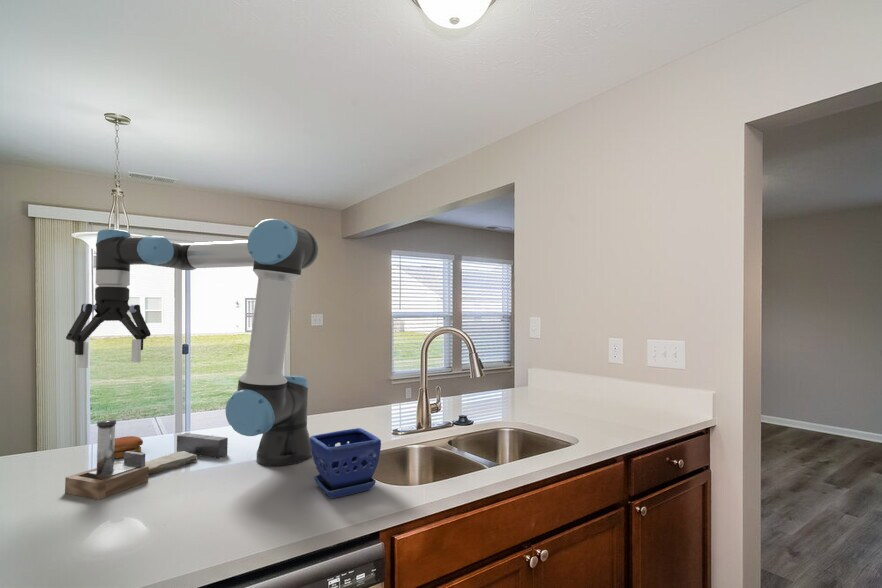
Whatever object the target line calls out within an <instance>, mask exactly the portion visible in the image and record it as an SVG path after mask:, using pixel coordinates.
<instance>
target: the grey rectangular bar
mask: <svg viewBox="0 0 882 588" xmlns="http://www.w3.org/2000/svg"><path fill="white" fill-rule="evenodd" d="M228 444H229V443H228V437H225V436H224V437H223V436H215V435H208V434H207V435H206V434H199V433H190V432H189V433H188V432H185V433H181V434H178V435H176V452H181V451H185V452H188V453H192V454H194V455H197V457H204V458H213V459H222V458H224V457H227V456H228Z"/></svg>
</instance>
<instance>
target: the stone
mask: <svg viewBox="0 0 882 588" xmlns="http://www.w3.org/2000/svg"><path fill="white" fill-rule="evenodd" d="M197 457H198V456H197V455H194V454H192V453H188V452H185V451H181V452H177V451H175V452H172V453H170V454H167V455H164V456H160V457H157V458H153V459H150V460H148V461H145V466H148V467H149V470H148V475H151V474H156V473H160V472H163V471H167V469H168V470H171V469H174V468H179V467H180V466H184V465H186V464H191V463H195V462H197V461H198V458H197Z"/></svg>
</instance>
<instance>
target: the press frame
mask: <svg viewBox="0 0 882 588" xmlns="http://www.w3.org/2000/svg"><path fill="white" fill-rule="evenodd" d="M118 463H121V462H120V461H114V465H115V464H118ZM96 470H97V467H95V468H92V469H88V470H85V471H82V472H79V473H76V474H72V475H69V476H66V477H65V478H64V479H65V481H64V482H65V483H64V486H65V487H64V494H66V495H67V494H68V495H73V496H77V497H78V496H79V497H83V498H88V499H93V500H98V501H99V500H101V499H103V498H107V497H109V496H112V495H115V494H117V493H120V492H123V491H126V490H128V489H130V488H134V487H136V486H139V485H142V484H144V483H148V482H149V474H148V470H149V467H148V466H142V467H139V468H136V469H133V470H130V471H127V472H124V473H121V474H118V475H115V476H112V477H109V478H106V479H103V480H97V479H92V478H88V473H89V472H92V471H96Z"/></svg>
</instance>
